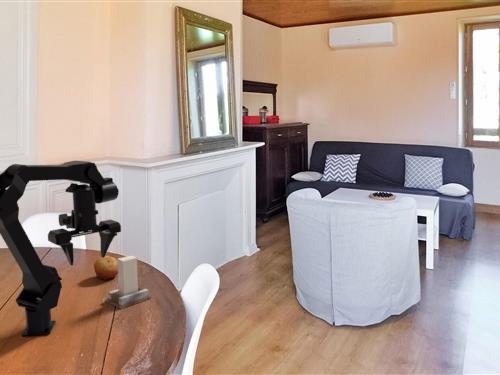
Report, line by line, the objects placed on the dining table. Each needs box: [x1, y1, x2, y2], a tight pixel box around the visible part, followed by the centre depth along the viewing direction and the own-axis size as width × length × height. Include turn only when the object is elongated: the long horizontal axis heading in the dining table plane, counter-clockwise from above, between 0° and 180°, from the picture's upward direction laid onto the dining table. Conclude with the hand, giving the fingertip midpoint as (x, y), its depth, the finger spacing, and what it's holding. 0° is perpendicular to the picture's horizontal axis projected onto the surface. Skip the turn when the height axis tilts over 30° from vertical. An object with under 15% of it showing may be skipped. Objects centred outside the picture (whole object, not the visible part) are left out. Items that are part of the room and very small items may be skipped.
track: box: [105, 284, 152, 310], centre depth 128 cm, size 10×8×3 cm
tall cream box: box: [117, 255, 139, 297], centre depth 127 cm, size 4×3×12 cm, turn 136°
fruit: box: [93, 255, 118, 281], centre depth 145 cm, size 8×8×8 cm
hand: (87, 261), depth 122 cm, fingers open, 9 cm apart
